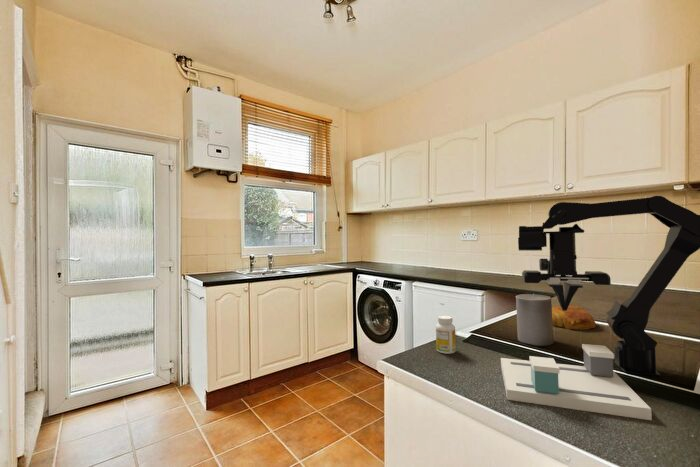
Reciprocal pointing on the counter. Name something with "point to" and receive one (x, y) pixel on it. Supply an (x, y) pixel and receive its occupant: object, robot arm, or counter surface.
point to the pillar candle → (534, 319)
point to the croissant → (572, 318)
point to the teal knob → (544, 374)
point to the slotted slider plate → (575, 390)
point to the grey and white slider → (598, 360)
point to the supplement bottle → (445, 335)
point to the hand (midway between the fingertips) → (564, 310)
